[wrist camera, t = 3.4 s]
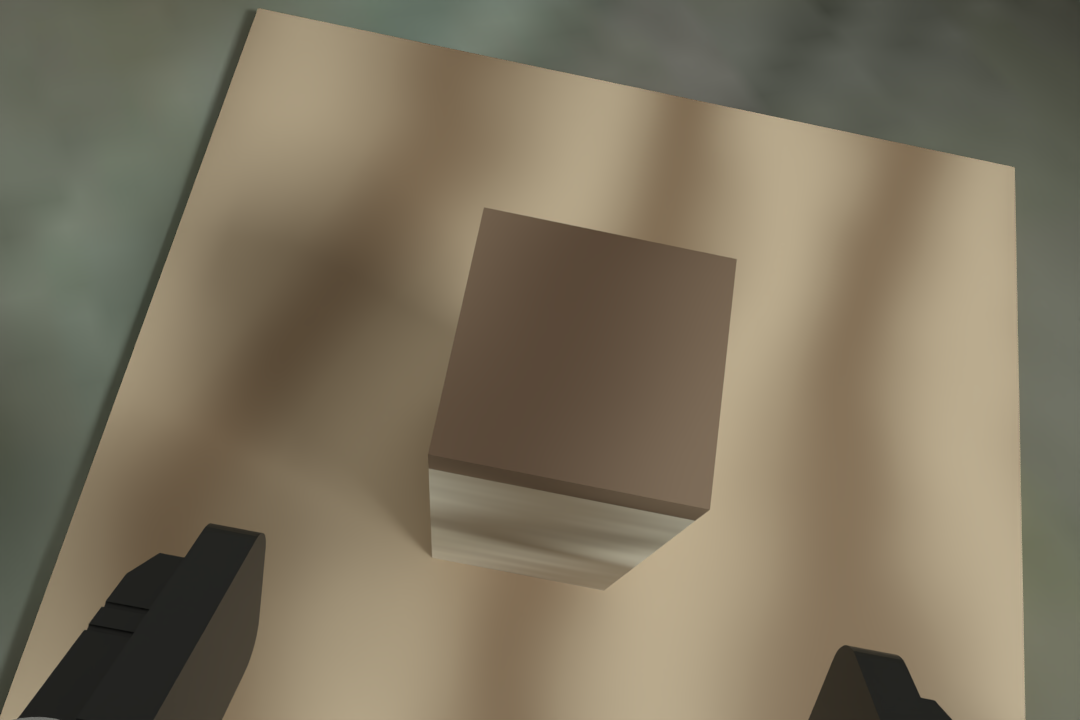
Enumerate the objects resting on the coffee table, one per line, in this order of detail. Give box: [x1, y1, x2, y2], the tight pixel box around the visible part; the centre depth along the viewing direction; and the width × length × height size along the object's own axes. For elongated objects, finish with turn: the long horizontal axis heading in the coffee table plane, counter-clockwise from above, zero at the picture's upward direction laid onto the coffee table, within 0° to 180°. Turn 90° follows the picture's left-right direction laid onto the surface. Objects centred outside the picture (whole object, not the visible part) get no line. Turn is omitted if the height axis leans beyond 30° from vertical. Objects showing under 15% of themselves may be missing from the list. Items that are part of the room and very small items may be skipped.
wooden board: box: [0, 8, 1025, 720], centre depth 23 cm, size 22×20×1 cm
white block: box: [428, 207, 737, 591], centre depth 18 cm, size 4×4×9 cm
